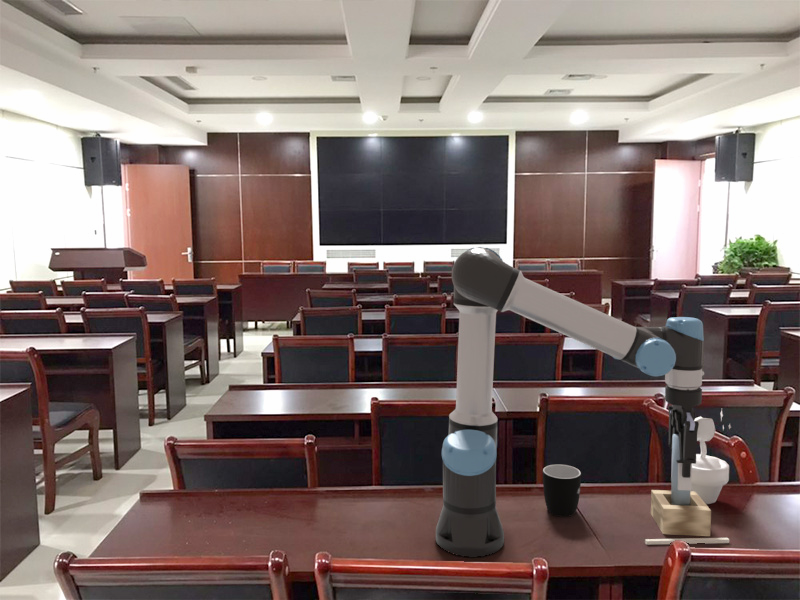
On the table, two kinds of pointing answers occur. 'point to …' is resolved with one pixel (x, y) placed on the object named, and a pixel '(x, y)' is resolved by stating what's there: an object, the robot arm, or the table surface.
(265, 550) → the table surface
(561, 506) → the mug
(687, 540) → the white thin rod
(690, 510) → the wooden box
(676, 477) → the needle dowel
